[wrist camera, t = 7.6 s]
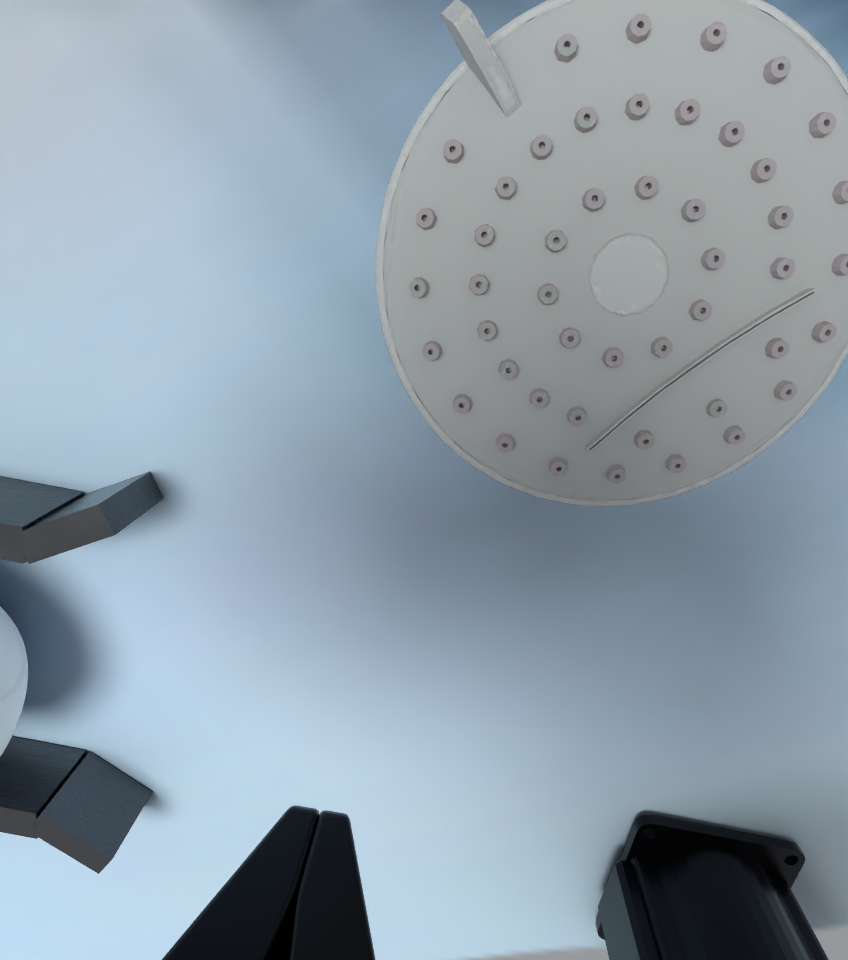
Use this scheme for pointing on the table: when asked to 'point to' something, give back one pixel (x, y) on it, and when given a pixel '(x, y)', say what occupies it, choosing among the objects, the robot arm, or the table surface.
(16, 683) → the white folded round lump
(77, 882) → the table surface
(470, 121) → the showerhead
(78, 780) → the bracket
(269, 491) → the table surface
